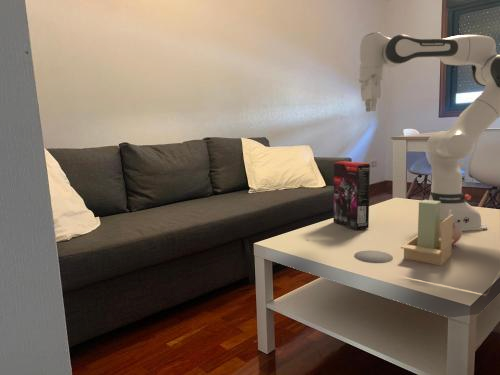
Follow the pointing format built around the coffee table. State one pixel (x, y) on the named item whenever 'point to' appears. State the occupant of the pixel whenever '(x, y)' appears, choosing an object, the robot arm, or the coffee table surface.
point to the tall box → (429, 224)
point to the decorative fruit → (455, 233)
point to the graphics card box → (351, 194)
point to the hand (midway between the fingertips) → (370, 111)
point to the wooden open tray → (427, 253)
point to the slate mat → (373, 256)
